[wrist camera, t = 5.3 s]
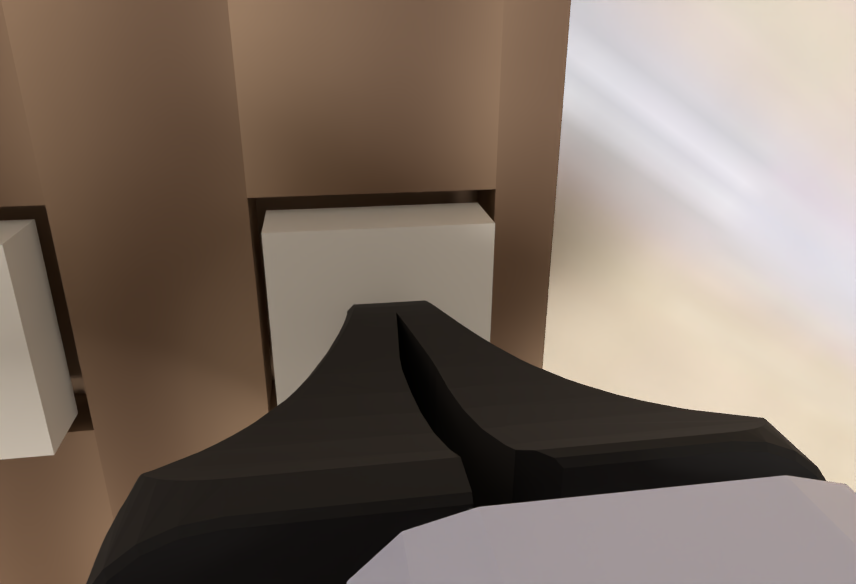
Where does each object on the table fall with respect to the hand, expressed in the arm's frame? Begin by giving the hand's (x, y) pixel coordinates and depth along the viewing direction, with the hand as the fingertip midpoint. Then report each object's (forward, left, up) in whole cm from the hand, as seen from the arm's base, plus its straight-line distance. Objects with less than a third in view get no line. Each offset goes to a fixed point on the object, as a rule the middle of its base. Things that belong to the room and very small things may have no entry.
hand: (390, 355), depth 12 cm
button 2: (0, 0, -2) cm, 2 cm away
